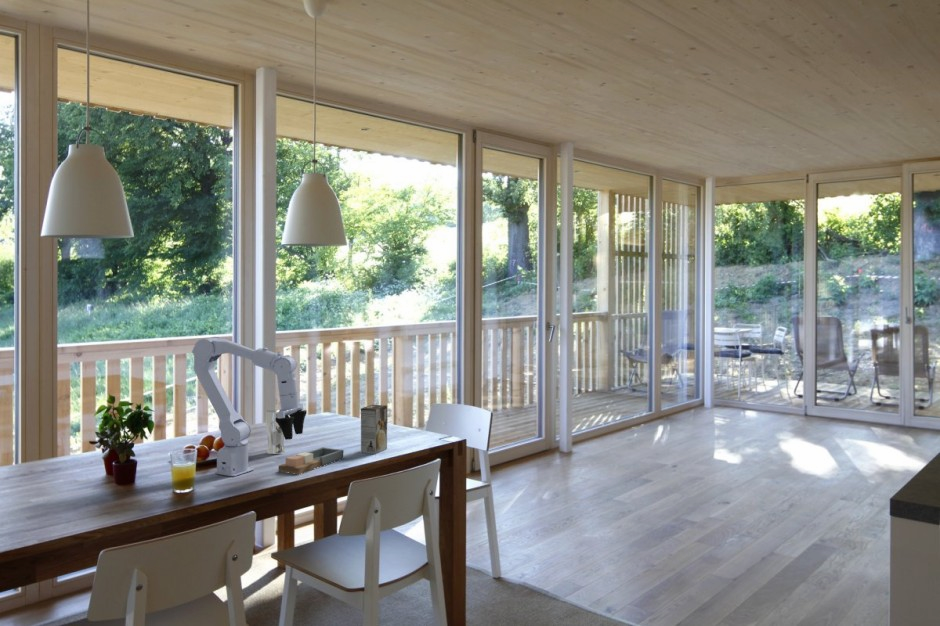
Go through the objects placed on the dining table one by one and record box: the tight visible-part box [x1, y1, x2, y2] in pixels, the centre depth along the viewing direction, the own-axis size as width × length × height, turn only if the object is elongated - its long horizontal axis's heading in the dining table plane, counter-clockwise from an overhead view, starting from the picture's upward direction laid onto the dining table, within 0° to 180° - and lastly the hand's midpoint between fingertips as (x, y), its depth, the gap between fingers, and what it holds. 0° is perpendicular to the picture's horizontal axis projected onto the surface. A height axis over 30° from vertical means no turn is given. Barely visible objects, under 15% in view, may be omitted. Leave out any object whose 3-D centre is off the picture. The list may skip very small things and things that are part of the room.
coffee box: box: [360, 404, 388, 455], centre depth 266 cm, size 9×6×16 cm
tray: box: [306, 447, 344, 467], centre depth 251 cm, size 12×9×3 cm
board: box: [278, 459, 323, 475], centre depth 240 cm, size 12×8×2 cm, turn 155°
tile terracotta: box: [285, 455, 304, 467], centre depth 237 cm, size 4×4×2 cm
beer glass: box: [265, 408, 285, 455], centre depth 261 cm, size 7×7×15 cm
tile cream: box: [295, 451, 313, 464], centre depth 241 cm, size 4×4×2 cm
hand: (294, 436), depth 234 cm, fingers open, 7 cm apart
